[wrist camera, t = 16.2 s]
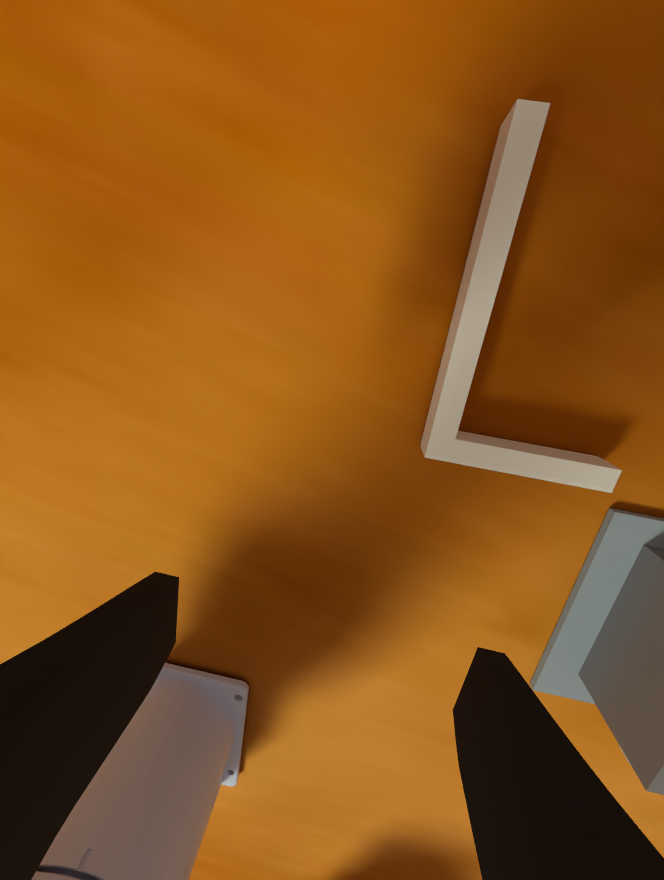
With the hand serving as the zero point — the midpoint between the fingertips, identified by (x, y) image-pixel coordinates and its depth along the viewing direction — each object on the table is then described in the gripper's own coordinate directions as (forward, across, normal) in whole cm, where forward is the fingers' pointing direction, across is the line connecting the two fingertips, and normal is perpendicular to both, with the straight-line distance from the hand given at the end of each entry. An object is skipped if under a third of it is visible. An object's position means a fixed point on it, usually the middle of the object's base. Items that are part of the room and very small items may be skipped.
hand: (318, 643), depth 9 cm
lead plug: (+9, -16, +2) cm, 18 cm away
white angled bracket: (+9, -7, -9) cm, 14 cm away
